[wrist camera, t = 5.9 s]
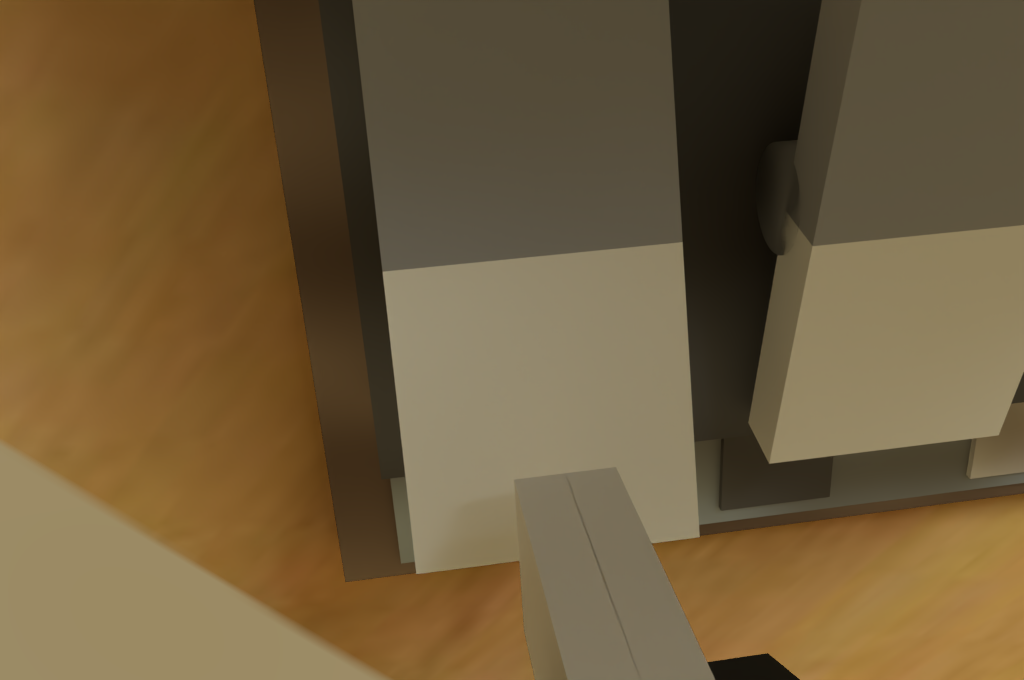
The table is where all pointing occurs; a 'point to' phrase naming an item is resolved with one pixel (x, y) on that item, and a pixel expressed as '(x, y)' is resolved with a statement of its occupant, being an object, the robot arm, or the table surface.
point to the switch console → (707, 268)
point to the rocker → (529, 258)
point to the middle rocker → (896, 233)
